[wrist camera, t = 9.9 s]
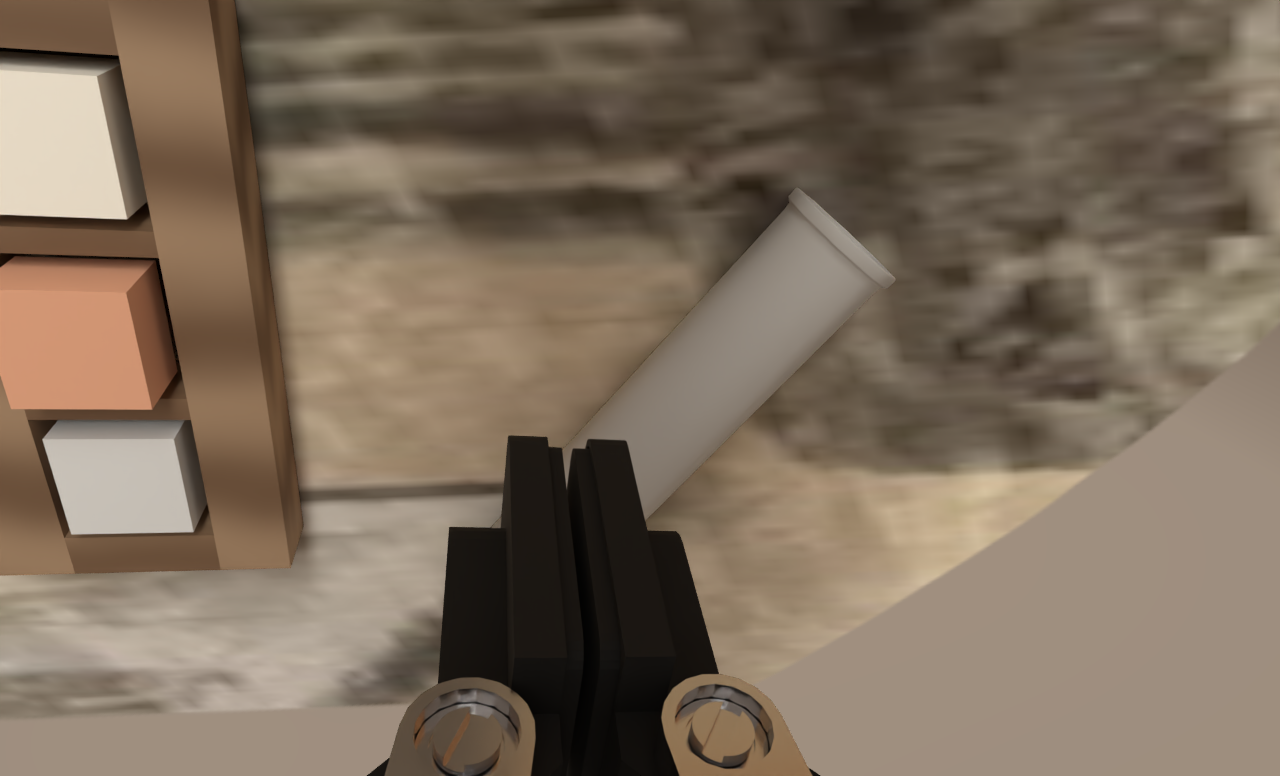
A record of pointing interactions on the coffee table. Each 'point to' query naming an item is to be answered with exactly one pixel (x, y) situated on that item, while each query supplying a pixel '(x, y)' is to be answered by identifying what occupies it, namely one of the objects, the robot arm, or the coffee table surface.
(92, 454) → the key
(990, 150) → the coffee table surface
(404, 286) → the coffee table surface
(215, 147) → the wooden tray
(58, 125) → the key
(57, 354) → the key mid
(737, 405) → the tube
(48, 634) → the coffee table surface
